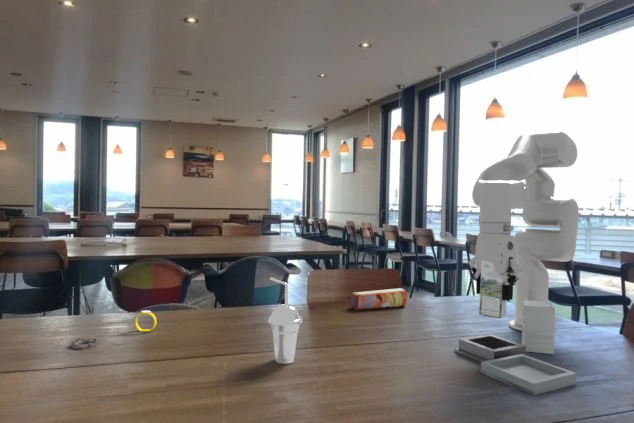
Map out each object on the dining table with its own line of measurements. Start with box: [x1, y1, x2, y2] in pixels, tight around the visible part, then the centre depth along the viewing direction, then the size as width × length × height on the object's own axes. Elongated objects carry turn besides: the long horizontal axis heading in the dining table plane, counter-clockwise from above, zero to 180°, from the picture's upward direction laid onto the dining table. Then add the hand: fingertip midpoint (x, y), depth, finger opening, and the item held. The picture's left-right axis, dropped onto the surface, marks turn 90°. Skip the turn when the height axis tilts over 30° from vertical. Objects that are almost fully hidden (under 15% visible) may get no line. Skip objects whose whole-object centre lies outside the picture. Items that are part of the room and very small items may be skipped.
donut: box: [70, 338, 98, 350], centre depth 122 cm, size 8×8×2 cm
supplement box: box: [521, 300, 556, 355], centre depth 126 cm, size 7×7×13 cm
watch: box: [134, 309, 158, 333], centre depth 136 cm, size 6×3×6 cm, turn 93°
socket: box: [453, 333, 527, 363], centre depth 120 cm, size 13×13×4 cm
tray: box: [480, 354, 577, 397], centre depth 105 cm, size 14×14×2 cm
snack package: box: [350, 287, 408, 311], centre depth 173 cm, size 21×7×7 cm, turn 112°
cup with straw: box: [267, 276, 304, 365], centre depth 113 cm, size 8×9×20 cm
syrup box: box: [478, 260, 508, 319], centre depth 120 cm, size 6×6×14 cm
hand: (493, 296), depth 120 cm, fingers closed on syrup box, 7 cm apart
